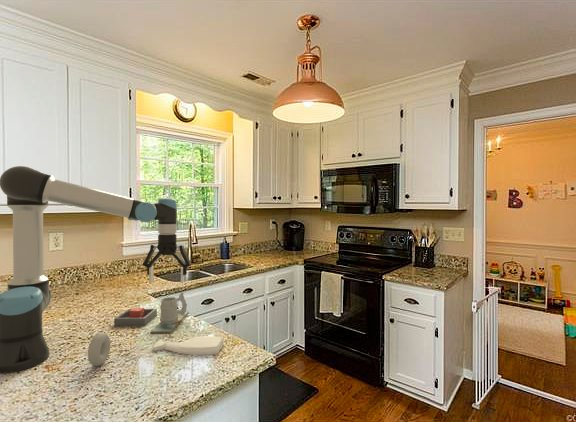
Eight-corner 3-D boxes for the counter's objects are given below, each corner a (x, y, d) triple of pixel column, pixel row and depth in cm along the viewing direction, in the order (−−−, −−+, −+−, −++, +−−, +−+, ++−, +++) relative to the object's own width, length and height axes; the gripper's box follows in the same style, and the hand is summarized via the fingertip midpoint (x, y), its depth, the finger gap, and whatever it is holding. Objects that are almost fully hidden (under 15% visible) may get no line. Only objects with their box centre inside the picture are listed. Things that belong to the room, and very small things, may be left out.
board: (171, 333, 129) (171, 331, 129) (150, 333, 129) (150, 331, 129) (188, 313, 153) (188, 311, 153) (171, 313, 153) (171, 311, 153)
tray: (144, 325, 137) (144, 318, 137) (114, 325, 137) (114, 318, 137) (156, 315, 150) (156, 308, 150) (129, 315, 150) (128, 308, 150)
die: (139, 321, 141) (139, 310, 140) (129, 321, 141) (129, 310, 141) (145, 317, 145) (144, 307, 145) (134, 317, 145) (134, 307, 145)
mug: (156, 321, 140) (156, 294, 139) (182, 315, 148) (182, 289, 147) (163, 326, 134) (163, 297, 134) (190, 319, 142) (190, 292, 142)
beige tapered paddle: (217, 356, 109) (147, 356, 111) (225, 343, 120) (161, 342, 122) (216, 348, 109) (147, 347, 111) (225, 335, 120) (161, 334, 122)
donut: (102, 357, 108) (101, 328, 108) (112, 357, 109) (112, 327, 108) (85, 372, 98) (85, 340, 98) (97, 372, 99) (96, 340, 98)
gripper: (198, 233, 143) (197, 280, 144) (142, 232, 143) (142, 280, 143) (193, 234, 136) (193, 284, 136) (134, 234, 136) (134, 284, 136)
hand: (166, 282), depth 140 cm, fingers open, 13 cm apart
